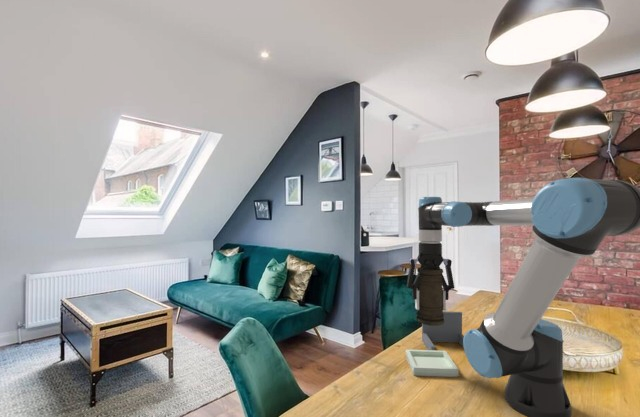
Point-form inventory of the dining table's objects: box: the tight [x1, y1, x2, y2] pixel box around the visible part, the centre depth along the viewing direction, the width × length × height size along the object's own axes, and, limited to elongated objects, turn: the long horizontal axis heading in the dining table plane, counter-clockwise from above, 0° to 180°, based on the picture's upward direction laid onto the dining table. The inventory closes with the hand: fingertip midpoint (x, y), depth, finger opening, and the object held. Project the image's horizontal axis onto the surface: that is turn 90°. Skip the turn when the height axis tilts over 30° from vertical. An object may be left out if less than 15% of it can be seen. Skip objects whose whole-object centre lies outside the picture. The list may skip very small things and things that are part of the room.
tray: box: [405, 348, 460, 378], centre depth 113 cm, size 14×14×2 cm
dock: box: [421, 310, 465, 350], centre depth 128 cm, size 15×15×12 cm
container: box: [416, 266, 444, 326], centre depth 114 cm, size 9×9×18 cm
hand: (430, 309), depth 113 cm, fingers closed on container, 8 cm apart
